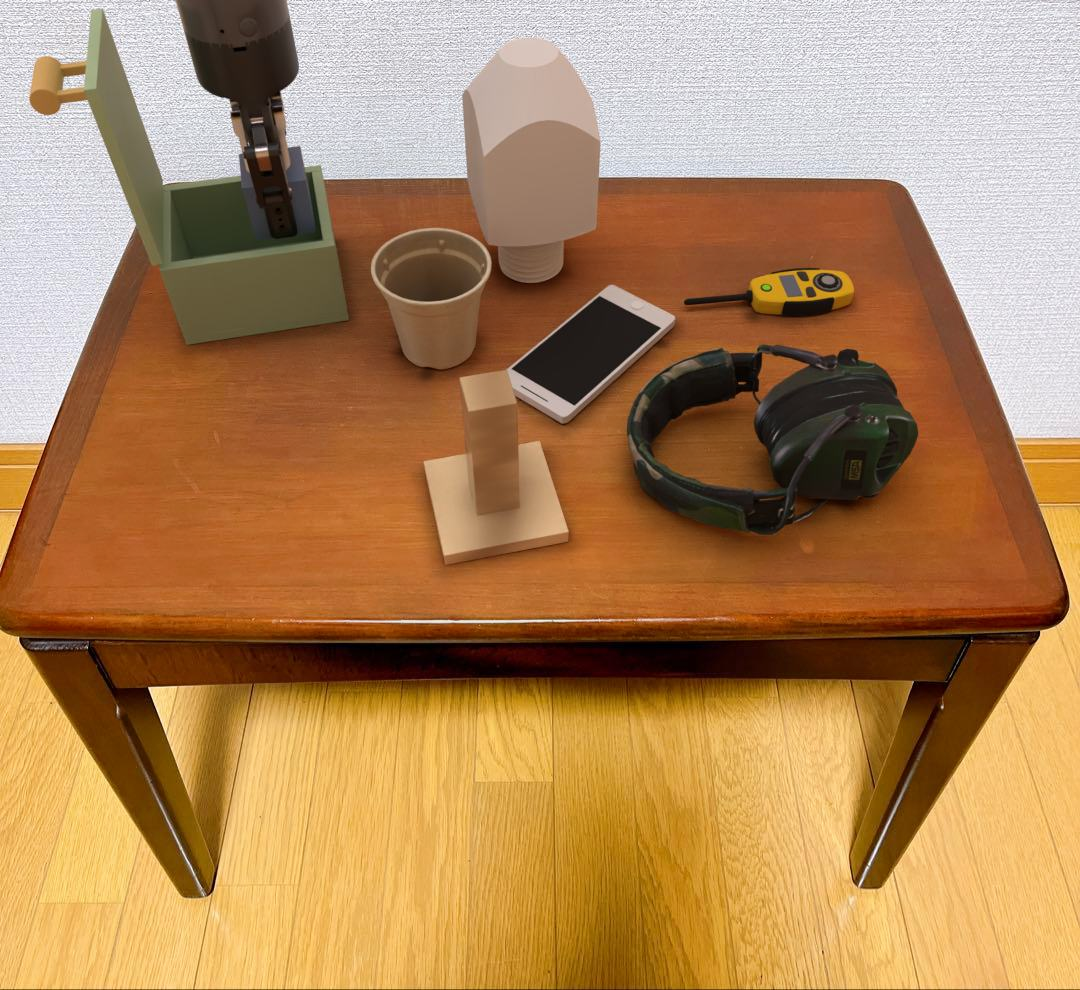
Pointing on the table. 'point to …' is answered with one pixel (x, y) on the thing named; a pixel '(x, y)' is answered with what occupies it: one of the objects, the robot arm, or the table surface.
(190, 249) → the chest
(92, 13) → the lid
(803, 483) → the headphones
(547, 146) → the light fixture
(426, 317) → the flower pot
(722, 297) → the yellow walkie talkie
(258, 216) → the block
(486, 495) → the post
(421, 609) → the table surface
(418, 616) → the table surface
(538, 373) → the smartphone
